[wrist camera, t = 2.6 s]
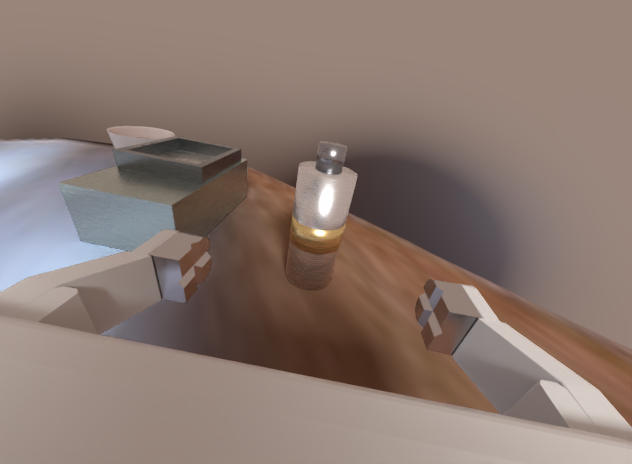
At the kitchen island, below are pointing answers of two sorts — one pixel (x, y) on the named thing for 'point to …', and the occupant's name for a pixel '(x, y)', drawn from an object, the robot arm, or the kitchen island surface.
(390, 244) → the kitchen island surface
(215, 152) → the green tray box
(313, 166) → the frosted glass bottle
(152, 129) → the candle
